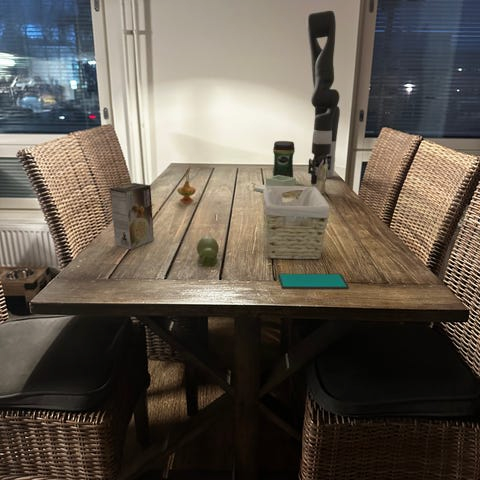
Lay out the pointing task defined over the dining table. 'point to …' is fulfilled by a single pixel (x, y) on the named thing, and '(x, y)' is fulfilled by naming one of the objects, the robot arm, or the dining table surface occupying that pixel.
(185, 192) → the magic lamp
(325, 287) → the smartphone
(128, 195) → the coffee box
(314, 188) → the storage basket
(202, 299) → the dining table surface
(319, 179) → the beige long rectangular block
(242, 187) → the dining table surface
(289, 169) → the coffee jar
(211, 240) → the green rounded piece
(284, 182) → the stand
